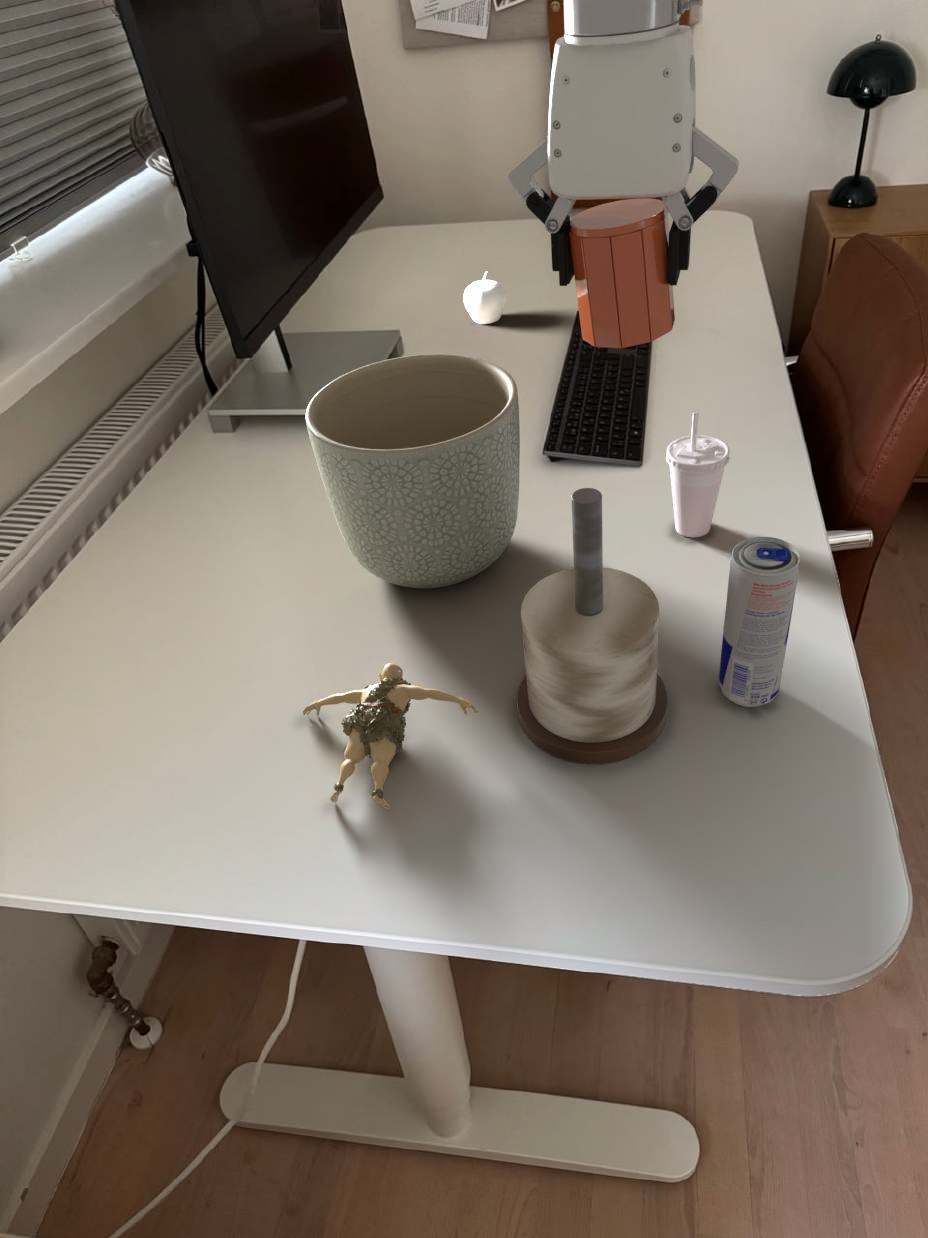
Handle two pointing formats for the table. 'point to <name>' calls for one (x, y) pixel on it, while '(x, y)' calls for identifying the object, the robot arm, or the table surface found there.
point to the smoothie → (696, 479)
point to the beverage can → (757, 619)
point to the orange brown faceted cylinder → (622, 272)
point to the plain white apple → (485, 300)
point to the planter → (421, 465)
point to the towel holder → (591, 654)
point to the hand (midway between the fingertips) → (619, 278)
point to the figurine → (378, 723)
